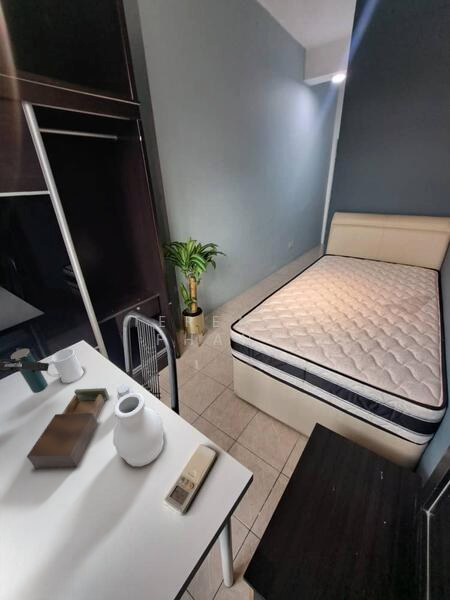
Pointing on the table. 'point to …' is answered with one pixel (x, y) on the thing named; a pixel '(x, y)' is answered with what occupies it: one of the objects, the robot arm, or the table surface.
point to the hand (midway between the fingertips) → (39, 367)
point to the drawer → (87, 406)
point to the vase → (137, 430)
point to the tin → (30, 371)
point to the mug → (66, 365)
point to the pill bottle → (123, 390)
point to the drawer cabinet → (63, 441)
